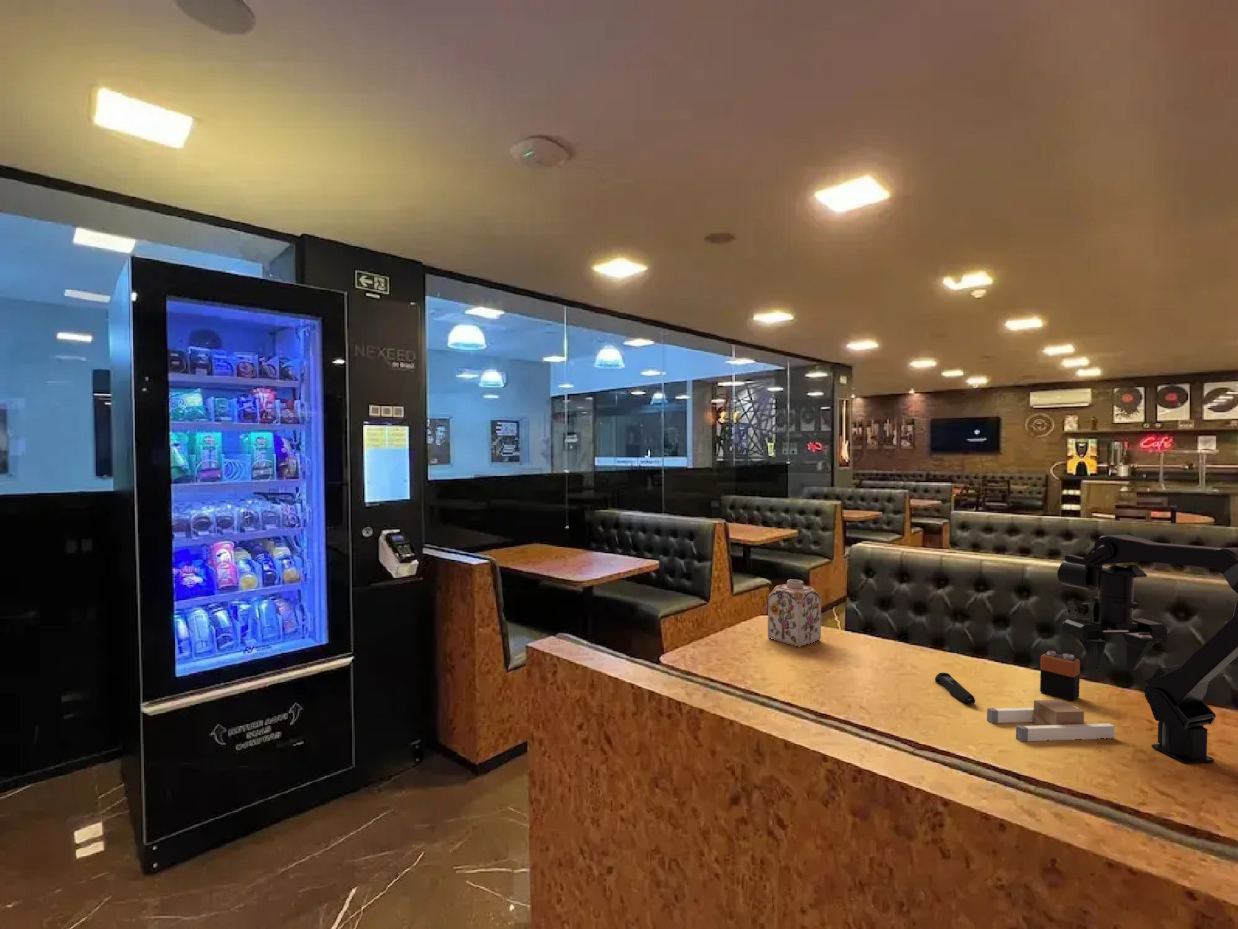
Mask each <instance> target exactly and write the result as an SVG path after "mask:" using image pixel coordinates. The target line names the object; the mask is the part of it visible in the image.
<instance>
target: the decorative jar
mask: <svg viewBox="0 0 1238 929" xmlns="http://www.w3.org/2000/svg"><path fill="white" fill-rule="evenodd" d="M767 603H768V604H767V609H768V610H767V638H768V639H769V638H772V639H774V640H773V641H775V640H777V641H776V642H779V641H780V642H779V643H782V642H783V643H782V644H785V643H786V645H789V644H792V645H791V646H793V645H795V646H794V647H796V646H798V647H797V648H802V647H805V646H807V645H806V644H808V645H811V644H814V643H816V642H815V641H817V640H820V639H821V638H822V636H821V633H822V596H821V595H820V594H819V593H818V591H817V590H816V589H815V588H813V587H812V586H809V585H805V584H804V581H803V580H801V579H791V578H790V579H788V580H787V581H786V583H785V584H784V583H783V584H779V585H776V586H775V587H774V588H773V589H772V591H770V593H768V602H767ZM820 641H821V640H820ZM813 642H814V643H813ZM817 642H818V641H817ZM810 643H811V644H810ZM804 645H805V646H804ZM801 646H802V647H801Z"/></svg>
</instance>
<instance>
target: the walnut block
mask: <svg viewBox="0 0 1238 929" xmlns="http://www.w3.org/2000/svg"><path fill="white" fill-rule="evenodd" d="M1076 707H1077V706H1075V707H1074V705H1072V704H1070V703H1068V702H1066V701H1064V700H1062V699H1034V700H1033V708H1034V714H1033V722H1032V723H1033V725H1035V726H1037V725H1038V726H1040V725H1074V724H1085V711H1084V710H1082V709H1080V708H1079V707H1077V708H1076ZM1078 708H1079V709H1078Z"/></svg>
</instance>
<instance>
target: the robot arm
mask: <svg viewBox="0 0 1238 929" xmlns="http://www.w3.org/2000/svg"><path fill="white" fill-rule="evenodd" d="M1143 562H1144V563H1145V562H1146V563H1147V562H1149V563H1159V564H1166V565H1167V564H1168V565H1175V566H1176V565H1178V566H1187V567H1197V568H1206V569H1216V570H1217V571H1218V572H1219V573H1220V574H1221V575H1222V576H1223V578H1224V579H1225V581H1226V583H1227V584H1228V585H1229V587H1230V588H1231V589H1232V590H1233V591H1234V592H1235V593H1236V594H1237V595H1238V547H1216V546H1215V547H1214V546H1202V545H1191V544H1190V545H1189V544H1188V545H1187V544H1174V543H1164V542H1163V543H1161V542H1156V541H1151V540H1149V539H1146V538H1144V537H1143V538H1142V537H1138V536H1134V535H1129V534H1115V535H1114V534H1113V535H1112V534H1111V535H1109V534H1108V535H1101V536H1099V537H1098V538H1097V540H1096V541H1095V543H1094V545H1093V548H1092V549H1091V550H1090V551H1089V552H1088V553H1087V554H1086V555H1085V556H1084V557H1081V556H1078V555H1075V554H1066V555H1064V560H1063V561H1062V562H1061V563H1060V566H1059V567H1058V569H1057V572H1056V573H1057V579H1058V582H1060V584H1062V585H1065V586H1068V587H1072V588H1073V587H1074V588H1079V589H1084V590H1088V591H1095V590H1096V589H1097V590H1098V591H1097V596H1092V599H1091V603H1083V602H1082V601H1081V600H1080V599H1079V600H1078V599H1077V600H1072V599H1071V600H1067V604H1066V605H1067V606H1066V610H1067V614H1068V615H1069V616H1072V617H1074V618H1073V619H1072V618H1070V619H1069V618H1068V619H1065V620H1064V621H1063V622H1062V632H1063V633H1064V634H1068V635H1070V636H1072V637H1074V638H1076V639H1077V640H1078V641H1079V642H1080V643H1081V644H1082V647H1083V649H1084V651H1085V654H1086V657H1087V659H1088V662H1089V664H1090V666H1091V669H1092V670H1093V671H1096V672H1097V671H1099V669H1100V667H1101V666H1102V665H1101V664H1102V660H1103V656H1104V653H1105V649H1106V646H1107V641H1106V640H1103V639H1102V638H1103V636H1104V634H1121V636H1122V637H1123V639H1124V641H1125V643H1126V644H1125V646H1126V648H1125V650H1126V651H1125V652H1126V653H1125V654H1126V655H1125V656H1126V667H1127V669H1128V670H1130V671H1134V670H1135V669H1136V667H1138V665H1139V663H1140V662H1141V661H1142V659H1143V658H1144V657H1145V655H1146V654H1147V653H1148V652H1149V651H1150V650H1151V648H1152V647H1153V646H1154V645H1155V644H1158V643H1159V642H1160V640H1167V639H1168V628H1167V627H1166V626H1165V624H1163V623H1160V622H1157V621H1153V620H1151V619H1150V620H1149V619H1146V618H1133V617H1134V613H1133V612H1134V609H1139V605H1140V604H1139V603H1138V602H1134V593H1135V592H1134V590H1135V579H1138V578H1146V577H1147V576H1148V574H1147V573H1146V572H1145V571H1144V570H1142V569H1141V568H1140V567H1139V565H1138V564H1129V565H1127V566H1122V565H1116V564H1125V563H1143ZM1106 565H1107V566H1108V565H1110V566H1109V567H1103V566H1106ZM1237 657H1238V600H1237V601H1236V602H1235V606H1234V610H1233V614H1232V616H1231V617H1230V619H1229V620H1227V621H1226V622H1225V623H1224V624H1223V625H1222V626H1221V627H1220V628H1219V629H1218V630H1217V631H1216V632H1215V633H1214V634H1213V635H1212V636H1211V637H1209V639H1208V640H1206V641H1205V642H1204V643H1203V644H1202V645H1201V646H1200V647H1199V648H1198V649H1197V650H1196V651H1195V652H1194V653H1193V654H1192V655H1191V656H1190V657H1189V658H1188V659H1186V660H1185V661H1184V662H1183V663H1182V664H1181V665H1179V664H1177V665H1171V666H1170V665H1169V666H1164V667H1158V668H1157V669H1156V670H1155V672H1154V673H1153V675H1152V676H1151V677H1149V678H1148V679H1145V680H1144V683H1147V684H1146V685H1145V686H1144V687H1143V691H1142V692H1143V693H1144V696H1145V699H1146V702H1147V703H1148V704H1149V707H1150V710H1151V712H1152V716H1153V719H1154V720H1155V721H1156V722H1157V743H1152V744H1151V748H1152V749H1153V748H1154V749H1155V750H1157V751H1159V752H1161V753H1162V754H1164V755H1167V756H1168V757H1170V758H1173V759H1175V760H1177V761H1178V762H1180V763H1184V764H1188V763H1189V764H1191V763H1192V764H1193V763H1195V764H1196V763H1214V762H1215V758H1213V757H1211V756H1209V755H1208V753H1207V752H1208V728H1206V727H1205V725H1212V724H1213V723H1214V722H1215V719H1216V717H1217V715H1216V714H1215V712H1214V711H1213V710H1212V709H1211V708H1210V706H1208V704H1207V703H1206V702H1205V701H1204V700H1203V699H1204V697H1205V695H1206V694H1207V691H1208V686H1209V684H1210V682H1211V681H1212V680H1213V679H1214V678H1215V677H1216V676H1217V675H1218V674H1220V673H1221V672H1222V671H1223V670H1224V669H1225V668H1226V667H1227V666H1229V664H1230V663H1232V662H1233V661H1234V660H1235V659H1236V658H1237Z"/></svg>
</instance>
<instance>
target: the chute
mask: <svg viewBox="0 0 1238 929" xmlns="http://www.w3.org/2000/svg"><path fill="white" fill-rule="evenodd" d="M1073 706H1074V705H1073ZM1074 707H1076V708H1078V709H1080V708H1079V707H1077V706H1074ZM1033 714H1034V707H1008V708H1003V707H1002V708H994V707H986V721H988V722H989V723H991V724H999V723H1000V724H1001V723H1003V724H1004V723H1006V724H1007V723H1029V722H1030V723H1033ZM1097 738H1098V739H1097ZM1100 738H1104V739H1103V740H1105V739H1106V738H1110V739H1111V738H1113V739H1115V725H1114V724H1112V723H1109V722H1108V723H1084V724H1074V725H1040V726H1037V725H1020V724H1019V725H1015V739H1016V740H1018V741H1019V742H1021V743H1024V742H1026V743H1027V742H1041V741H1042V742H1043V741H1044V742H1046V741H1047V740H1049V741H1073V740H1074V741H1076V740H1075V739H1082V740H1101V739H1100ZM1110 739H1109V740H1110ZM1111 740H1112V739H1111ZM1049 741H1048V742H1049Z"/></svg>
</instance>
